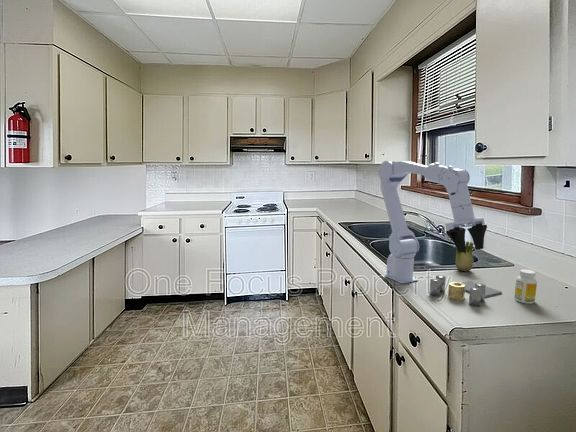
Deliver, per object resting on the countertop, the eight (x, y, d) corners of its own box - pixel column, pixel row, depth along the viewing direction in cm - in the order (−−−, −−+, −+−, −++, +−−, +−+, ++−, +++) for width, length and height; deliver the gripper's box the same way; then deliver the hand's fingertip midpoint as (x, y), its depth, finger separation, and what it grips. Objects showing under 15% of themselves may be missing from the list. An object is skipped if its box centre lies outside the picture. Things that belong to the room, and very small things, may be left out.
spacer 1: (427, 294, 116) (428, 279, 116) (434, 292, 118) (435, 278, 117) (434, 297, 114) (435, 282, 113) (441, 295, 115) (442, 280, 114)
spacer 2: (433, 290, 120) (434, 275, 119) (439, 288, 121) (440, 274, 121) (440, 293, 117) (441, 278, 117) (446, 291, 119) (447, 277, 118)
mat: (452, 286, 124) (452, 284, 124) (469, 282, 128) (469, 280, 127) (483, 297, 113) (483, 296, 113) (501, 293, 117) (502, 291, 117)
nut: (444, 295, 115) (445, 282, 114) (454, 293, 117) (455, 280, 116) (458, 301, 110) (459, 287, 110) (467, 299, 112) (469, 285, 111)
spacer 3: (466, 303, 108) (467, 288, 108) (473, 302, 110) (474, 286, 109) (475, 307, 106) (476, 291, 105) (482, 305, 107) (483, 289, 106)
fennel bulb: (453, 270, 142) (455, 241, 141) (458, 267, 146) (460, 239, 144) (468, 273, 138) (471, 243, 136) (473, 270, 141) (476, 241, 140)
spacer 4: (471, 299, 112) (472, 284, 111) (477, 297, 113) (479, 282, 113) (480, 302, 109) (481, 287, 109) (486, 301, 111) (487, 285, 110)
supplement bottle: (512, 300, 111) (515, 271, 109) (516, 296, 115) (519, 267, 113) (533, 305, 107) (536, 275, 106) (536, 300, 111) (539, 271, 109)
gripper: (455, 206, 102) (465, 252, 100) (489, 202, 108) (499, 246, 106) (436, 210, 108) (445, 254, 106) (469, 206, 114) (478, 248, 112)
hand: (471, 250), depth 107 cm, fingers open, 7 cm apart
